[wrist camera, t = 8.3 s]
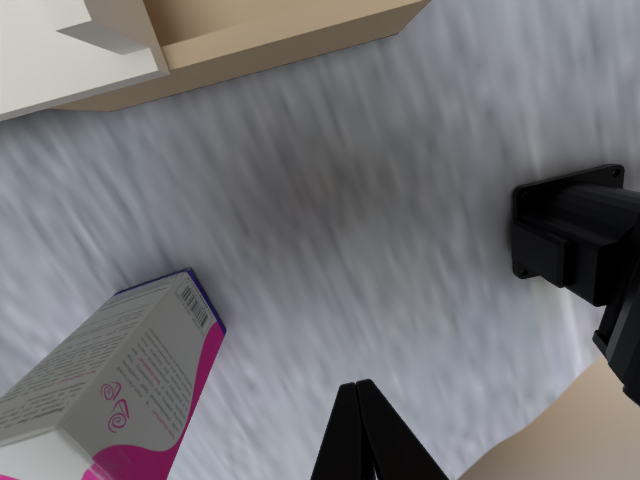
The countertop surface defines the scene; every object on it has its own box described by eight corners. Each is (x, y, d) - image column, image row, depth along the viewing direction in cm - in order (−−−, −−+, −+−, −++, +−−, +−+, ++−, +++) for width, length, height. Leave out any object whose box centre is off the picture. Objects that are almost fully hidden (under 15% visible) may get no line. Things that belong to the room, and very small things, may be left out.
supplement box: (112, 293, 21) (-95, 473, 10) (191, 265, 20) (61, 424, 10) (156, 356, 23) (23, 562, 12) (229, 332, 22) (157, 525, 12)
